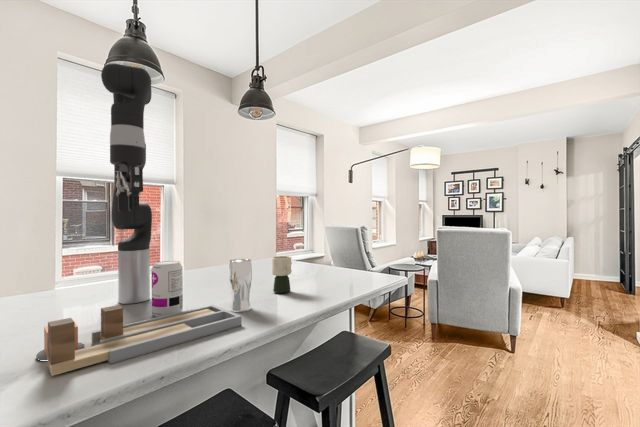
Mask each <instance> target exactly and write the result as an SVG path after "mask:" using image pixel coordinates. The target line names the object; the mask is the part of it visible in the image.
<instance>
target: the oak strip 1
mask: <svg viewBox="0 0 640 427" xmlns="http://www.w3.org/2000/svg"><path fill="white" fill-rule="evenodd" d="M75 324H76V322H75V321H74V319H73V318H72V317H67V318H63V319H57V320H52V321H47V326H48V358H47V360H48V362H47V367H48V371H49V373H50V375H51V377H53V376H57V375H60V374H63V373H67V372H71V371H74V370H77V369H81V368H84V367H88V366H91V365H95V364H99V363H103V362H107V360H109V350H111V349H115V348H119V347H123V346H126V345H130V344H134V343H137V342H141V341H145V340H149V339H152V338H156V337H160V336H164V335H167V334H171V333H175V332H179V331H182V330H186V329H190V328H191V327H189V326H187V325H186V324H184V323H183V324H179V325H175V326H171V327H167V328H163V329H159V330H155V331H151V332H147V333H143V334H139V335H135V336H131V337H127V338H123V339H119V340H115V341H111V342H107V343H103V344H99V345H95V346H94V345H92V346H87V347H85V348H83V349H80V350H76V351H75Z"/></svg>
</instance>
